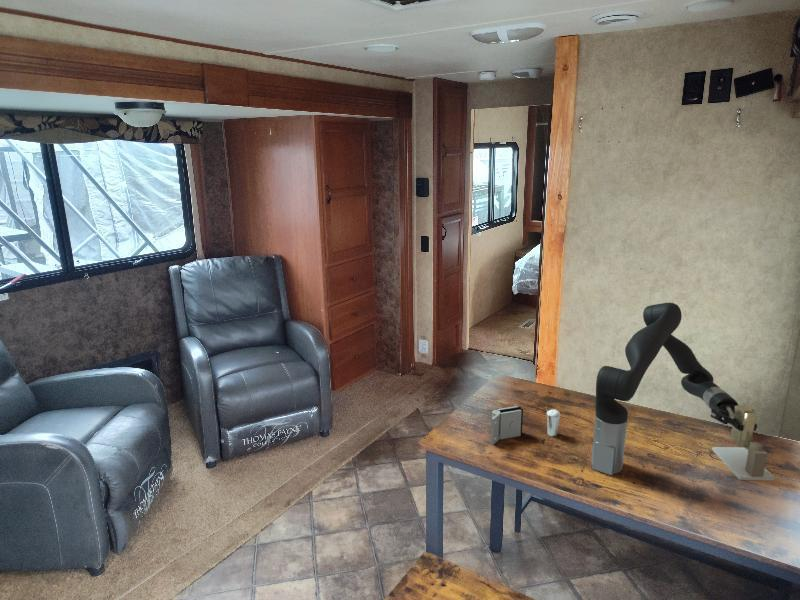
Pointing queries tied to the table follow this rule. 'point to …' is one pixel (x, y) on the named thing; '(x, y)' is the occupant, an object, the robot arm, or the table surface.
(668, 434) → the table surface
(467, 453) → the table surface
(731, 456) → the mounting plate
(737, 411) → the brown tall block
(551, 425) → the milkshake
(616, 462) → the robot arm
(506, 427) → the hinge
